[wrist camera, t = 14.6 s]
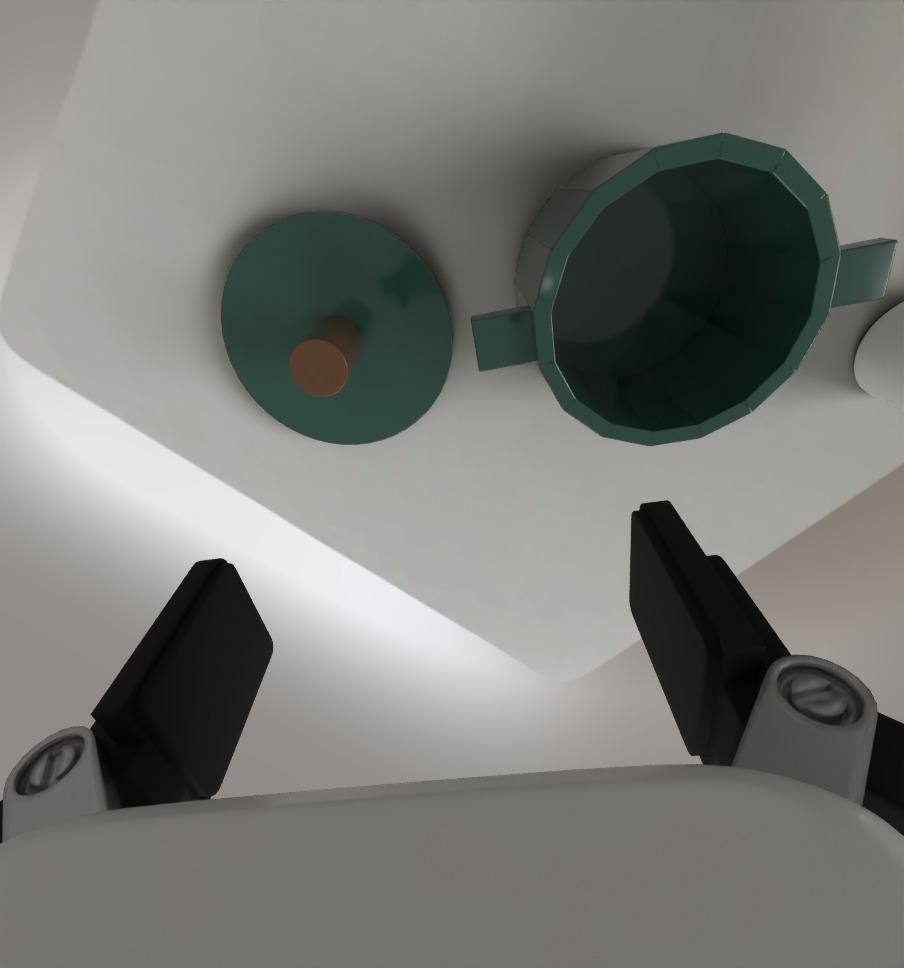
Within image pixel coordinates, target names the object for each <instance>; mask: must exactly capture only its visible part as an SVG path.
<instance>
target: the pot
mask: <svg viewBox="0 0 904 968" xmlns="http://www.w3.org/2000/svg"><path fill="white" fill-rule="evenodd" d="M897 242H898V241H897V240H895V239H886V238H878V239H872V240H867V241H862V242H857V243H852V244H846V245H841V246H839V241H838V237H837V232H836V228H835V224H834V219H833V215H832V211H831V206H830V202H829V198H828V194H826V192H825V191H824V190H823V189H822V188H821V187H820V186H819V184H818V183H817V182H816V181H815V180H814V179H813V178H812V177H811V176H810V175H809V174H808V173H807V172H806V171H805V169H804V168H803V167H802V166H801V165H800V164H799V163H798V162H797V161H796V160H795V159H794V158H793V157H792V155H791V154H790V153H789V152H788V151H786V149H784V148H780V147H776V146H773V145H769V144H765V143H761V142H758V141H754V140H750V139H747V138H743V137H739V136H736V135H732V134H728V133H719V134H714V135H709V136H704V137H699V138H694V139H689V140H684V141H679V142H674V143H668V144H663V145H658V146H653V147H648V148H644V149H639V150H635V151H630V152H626V153H621V154H616V155H612V156H607V157H603V158H601V159H599V160H597V161H596V162H594V163H593V164H592V165H590V166H589V167H587V168H585V169H584V170H582V171H580V172H579V173H577V174H576V175H575V176H573V177H572V178H571V179H570V180H568V181H567V182H566V183H565V184H563V185H562V186H560V187H559V188H558V189H557V190H556V191H555V193H554V194H553V195H552V197H551V198H550V199H549V200H548V201H547V203H546V204H545V205H544V207H543V208H542V209H541V211H540V212H539V214H538V215H537V217H536V219H535V220H534V222H533V224H532V225H531V227H530V229H529V231H528V233H527V234H526V237H525V241H524V243H523V246H522V250H521V253H520V256H519V260H518V265H517V271H516V276H515V280H514V285H515V297H516V306H517V308H512V309H507V310H502V311H496V312H491V313H486V314H481V315H476V316H471V324H472V330H473V336H474V342H475V348H476V354H477V360H478V367H479V371H486V370H492V369H497V368H503V367H508V366H514V365H519V364H525V363H531V362H536V363H537V365H538V367H539V369H540V371H541V373H542V374H543V376H544V378H545V380H546V381H547V383H548V385H549V387H550V388H551V390H552V392H553V394H554V395H555V397H556V399H557V401H558V402H559V404H560V406H561V407H562V409H563V410H564V411H565V412H567V413H568V414H569V415H571V416H572V417H574V418H575V419H577V420H578V421H580V422H581V423H582V424H584V425H585V426H587V427H588V428H590V429H591V430H593V431H594V432H595V433H597V434H598V435H600V436H602V437H605V438H610V439H615V440H620V441H625V442H630V443H635V444H641V445H646V446H654V445H660V444H667V443H673V442H679V441H685V440H692V439H698V438H701V437H704V436H706V435H708V434H710V433H712V432H714V431H716V430H718V429H720V428H722V427H724V426H726V425H728V424H730V423H732V422H734V421H736V420H738V419H740V418H742V417H744V416H746V415H748V414H750V413H751V411H754V410H755V409H756V408H757V407H758V406H759V405H760V404H761V403H762V402H763V401H765V400H766V399H767V398H768V397H769V396H770V395H771V394H772V393H773V392H774V391H775V390H776V389H777V388H778V387H780V386H781V385H782V384H783V383H784V382H785V381H786V380H787V379H788V378H789V377H790V376H791V375H792V374H793V373H794V372H795V371H796V370H797V369H798V368H799V366H800V364H801V363H802V361H803V359H804V357H805V356H806V354H807V352H808V350H809V349H810V347H811V345H812V344H813V342H814V340H815V338H816V337H817V335H818V333H819V332H820V330H821V328H822V326H823V325H824V323H825V321H826V320H827V318H828V315H829V313H830V308H834V307H839V306H845V305H850V304H856V303H861V302H867V301H873V300H878V299H882V298H884V295H885V291H886V287H887V283H888V279H889V275H890V271H891V267H892V263H893V259H894V255H895V251H896V246H897Z"/></svg>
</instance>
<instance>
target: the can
mask: <svg viewBox="0 0 904 968" xmlns="http://www.w3.org/2000/svg"><path fill="white" fill-rule="evenodd" d="M854 374H855V378H856V381H857V383H858V384H859V386H860V387H861V388H862V389H863V390H864V391H865V392H867V393H868V394H870V395H872V396H874V397H875V398H877V399H879V400H881V401H883V402H885V403H887V404H889V405H891V406H893V407H895V408H897V409H899V410H901V411H903V412H904V302H902V303H900V304H899V305H897V306H895V307H894V308H892V309H891V310H889V311H888V312H886V313H885V314H884V315H883V316H881V317H880V318H879V319H878V320H877V321H876V322H875V323H874V324H873V325H872V326H871V327H870V328H869V330H868V331H867V332H866V334H865V335H864V337H863V338H862V340H861V342H860V344H859V346H858V349H857V352H856V356H855V362H854Z"/></svg>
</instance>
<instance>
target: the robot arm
mask: <svg viewBox="0 0 904 968" xmlns="http://www.w3.org/2000/svg"><path fill="white" fill-rule="evenodd" d="M629 601H630V607H631V612H632V615H633V617H634V620H635V622H636V625H637V627H638V630H639V632H640V635H641V637H642V640H643V642H644V645H645V647H646V649H647V652H648V654H649V657H650V659H651V662H652V664H653V667H654V669H655V672H656V674H657V677H658V679H659V682H660V684H661V686H662V689H663V691H664V694H665V696H666V699H667V701H668V704H669V706H670V708H671V711H672V713H673V716H674V718H675V721H676V723H677V726H678V728H679V731H680V733H681V736H682V738H683V740H684V743H685V746H686V748H687V750H688V752H689V754H690V755H691V756H700V758H701V761H702V763H703V765H702V764H687V765H646V766H645V765H644V766H629V767H628V766H627V767H610V768H595V769H577V770H562V771H550V772H538V773H524V774H510V775H498V776H486V777H485V776H484V777H471V778H458V779H445V780H433V781H421V782H409V783H398V784H397V783H396V784H385V785H372V786H360V787H348V788H336V789H324V790H312V791H301V792H289V793H277V794H268V795H267V794H266V795H255V796H243V797H233V798H221V799H210V798H211V796H213V795H215V794H216V793H217V792H218V791H219V789H220V786H221V784H222V782H223V779H224V776H225V774H226V771H227V769H228V766H229V764H230V761H231V759H232V756H233V753H234V751H235V748H236V745H237V743H238V741H239V738H240V736H241V733H242V730H243V728H244V725H245V723H246V720H247V718H248V715H249V712H250V710H251V707H252V705H253V702H254V700H255V697H256V695H257V692H258V689H259V687H260V684H261V682H262V679H263V677H264V674H265V672H266V669H267V666H268V664H269V661H270V659H271V656H272V653H273V641H272V639H271V636H270V635H269V632H268V631H267V629H266V627H265V625H264V623H263V621H262V619H261V617H260V615H259V613H258V611H257V609H256V607H255V605H254V603H253V601H252V599H251V597H250V595H249V593H248V591H247V590H246V588H245V586H244V584H243V582H242V580H241V578H240V576H239V574H238V572H237V570H236V568H235V567H234V565H233V564H230V563H227V561H226V560H224V559H221V558H219V559H212V560H204V561H199V562H196V563H195V564H194V565H193V567H192V568H191V570H190V571H189V572H188V574H187V575H186V577H185V578H184V579H183V581H182V582H181V584H180V585H179V587H178V589H177V590H176V591H175V593H174V594H173V595H172V597H171V599H170V600H169V601H168V603H167V604H166V606H165V607H164V609H163V610H162V612H161V613H160V614H159V616H158V618H157V619H156V620H155V622H154V623H153V625H152V626H151V628H150V629H149V630H148V632H147V633H146V635H145V636H144V638H143V639H142V641H141V642H140V644H139V645H138V646H137V648H136V649H135V651H134V652H133V654H132V655H131V657H130V658H129V659H128V661H127V662H126V664H125V665H124V667H123V668H122V670H121V671H120V673H119V674H118V676H117V677H116V679H115V680H114V681H113V683H112V684H111V686H110V687H109V689H108V690H107V692H106V693H105V694H104V696H103V697H102V699H101V700H100V702H99V703H98V705H97V706H96V708H95V709H94V710H93V712H92V713H91V715H92V717H93V718H94V719H95V720H96V721H95V722H94V724H93V725H92V727H91V728H90V729H88V728H86V727H84V726H78V727H76V726H74V727H70V728H67V729H63V730H61V731H59V732H57V733H55V734H53V735H51V736H49V737H47V738H46V739H44V740H43V741H41V742H40V743H38V744H37V745H36V746H34V747H33V748H32V749H31V750H30V751H29V752H28V753H27V754H26V755H25V756H23V757H22V759H21V760H20V761H19V762H18V763H17V765H16V766H15V767H14V768H13V770H12V771H11V773H10V775H9V777H8V778H7V780H6V783H5V788H4V792H3V800H2V801H0V968H904V724H903V723H901V722H899V721H896V720H894V719H892V718H890V717H888V716H885V715H883V714H881V713H879V712H877V703H876V701H875V699H874V697H873V695H872V693H871V691H870V690H869V689H868V688H867V687H866V686H865V684H864V683H863V682H862V681H861V680H860V679H859V678H858V677H856V676H855V675H853V674H852V673H851V672H849V671H848V670H846V669H845V668H843V667H841V666H839V665H837V664H835V663H833V662H831V661H828V660H825V659H821V658H818V657H814V656H807V655H791V654H790V653H789V651H788V650H787V648H786V647H785V646H784V644H783V643H782V641H781V640H780V639H779V637H778V636H777V634H776V633H775V631H774V630H773V629H772V627H771V626H770V624H769V623H768V622H767V620H766V619H765V617H764V616H763V614H762V613H761V612H760V610H759V609H758V607H757V606H756V604H755V603H754V602H753V600H752V599H751V597H750V596H749V595H748V593H747V592H746V590H745V589H744V587H743V586H742V585H741V583H740V582H739V580H738V579H737V578H736V576H735V575H734V573H733V572H732V571H731V569H730V568H729V566H728V565H727V563H726V562H725V561H724V560H723V559H722V558H721V557H720V556H718V555H711V556H706V555H705V553H704V552H703V550H702V549H701V547H700V546H699V544H698V543H697V541H696V540H695V538H694V537H693V535H692V534H691V532H690V531H689V529H688V528H687V526H686V525H685V523H684V522H683V520H682V519H681V517H680V516H679V514H678V513H677V511H676V510H675V508H674V507H673V505H672V504H671V503H670V502H669V501H667V500H666V501H658V502H650V503H643V504H641V505H640V509H639V511H633V512H632V516H631V554H630V593H629Z"/></svg>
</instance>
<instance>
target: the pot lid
mask: <svg viewBox="0 0 904 968" xmlns="http://www.w3.org/2000/svg"><path fill="white" fill-rule="evenodd" d="M221 323H222V333H223V338H224V342H225V347H226V350H227V353H228V356H229V359H230V361H231V364H232V366H233V368H234V370H235V372H236V374H237V376H238V378H239V379H240V381H241V382H242V384H243V385H244V387H245V389H246V390H247V391H248V392H249V394H250V395H251V396H252V397H253V399H254V400H255V401H256V402H257V403H258V404H259V405H260V406H261V407H262V408H263V409H264V410H265V411H266V412H267V413H269V414H270V415H271V416H272V417H274V418H275V419H276V420H277V421H279V422H280V423H282V424H284V425H285V426H287V427H288V428H290V429H292V430H294V431H296V432H298V433H300V434H302V435H305V436H307V437H310V438H313V439H316V440H320V441H324V442H328V443H334V444H342V445H358V444H367V443H372V442H377V441H381V440H384V439H387V438H389V437H392V436H395V435H396V434H398V433H400V432H402V431H404V430H406V429H407V428H409V427H410V426H411V425H413V424H414V423H416V422H417V421H418V420H419V419H420V418H421V417H422V416H423V415H424V414H425V413H426V412H427V411H428V410H429V409H430V407H431V406H432V405H433V404H434V402H435V401H436V399H437V397H438V396H439V394H440V392H441V390H442V388H443V386H444V383H445V381H446V379H447V375H448V372H449V368H450V364H451V357H452V345H453V333H452V324H451V317H450V313H449V309H448V305H447V302H446V300H445V297H444V294H443V292H442V289H441V287H440V285H439V283H438V282H437V280H436V278H435V276H434V274H433V273H432V271H431V270H430V269H429V267H428V266H427V264H426V263H425V262H424V260H423V259H422V258H421V257H420V256H419V255H418V254H417V253H416V251H415V250H414V249H413V248H412V247H411V246H410V245H408V244H407V243H406V242H405V241H404V240H402V239H401V238H400V237H399V236H397V235H396V234H394V233H393V232H391V231H389V230H388V229H386V228H385V227H383V226H381V225H379V224H377V223H374V222H372V221H370V220H368V219H365V218H362V217H358V216H355V215H352V214H346V213H339V212H311V213H304V214H299V215H295V216H292V217H289V218H286V219H283V220H281V221H279V222H277V223H275V224H273V225H271V226H269V227H267V228H266V229H265V230H263V231H262V232H260V233H259V234H258V235H256V236H255V237H254V238H253V239H252V240H251V241H250V242H249V243H248V244H247V245H246V246H245V248H244V249H243V250H242V252H241V253H240V254H239V256H238V257H237V259H236V260H235V262H234V264H233V266H232V268H231V270H230V272H229V275H228V278H227V281H226V284H225V287H224V292H223V298H222V306H221Z"/></svg>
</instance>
